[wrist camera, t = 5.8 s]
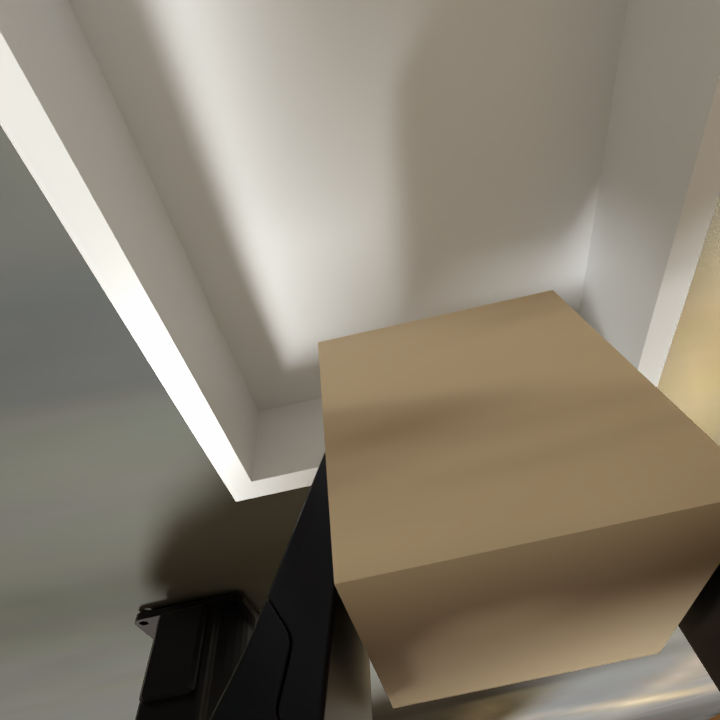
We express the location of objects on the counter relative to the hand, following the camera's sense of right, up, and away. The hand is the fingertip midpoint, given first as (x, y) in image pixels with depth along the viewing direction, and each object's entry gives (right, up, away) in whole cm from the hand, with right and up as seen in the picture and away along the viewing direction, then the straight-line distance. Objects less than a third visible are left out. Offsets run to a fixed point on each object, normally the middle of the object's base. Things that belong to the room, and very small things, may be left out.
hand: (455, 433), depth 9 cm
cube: (0, +1, +1) cm, 1 cm away
